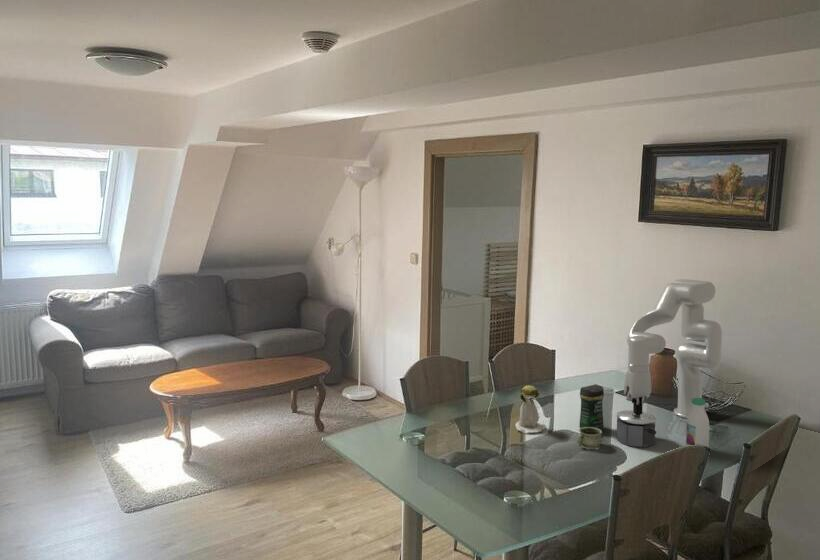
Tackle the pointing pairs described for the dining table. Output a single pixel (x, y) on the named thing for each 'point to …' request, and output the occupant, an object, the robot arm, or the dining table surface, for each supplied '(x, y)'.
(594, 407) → the coffee jar
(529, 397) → the white figurine
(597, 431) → the vessel
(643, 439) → the pot
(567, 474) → the dining table surface
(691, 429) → the milk bottle
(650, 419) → the lid
